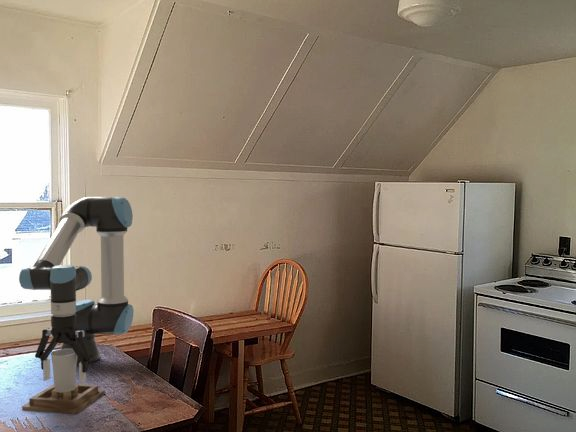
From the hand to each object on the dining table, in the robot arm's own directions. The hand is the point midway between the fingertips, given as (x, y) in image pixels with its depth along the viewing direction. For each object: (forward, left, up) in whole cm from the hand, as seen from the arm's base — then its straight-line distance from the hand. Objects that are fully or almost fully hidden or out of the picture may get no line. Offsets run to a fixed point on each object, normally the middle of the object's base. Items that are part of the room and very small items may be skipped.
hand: (64, 380), depth 185 cm
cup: (0, 0, -3) cm, 3 cm away
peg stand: (0, 0, -7) cm, 7 cm away
